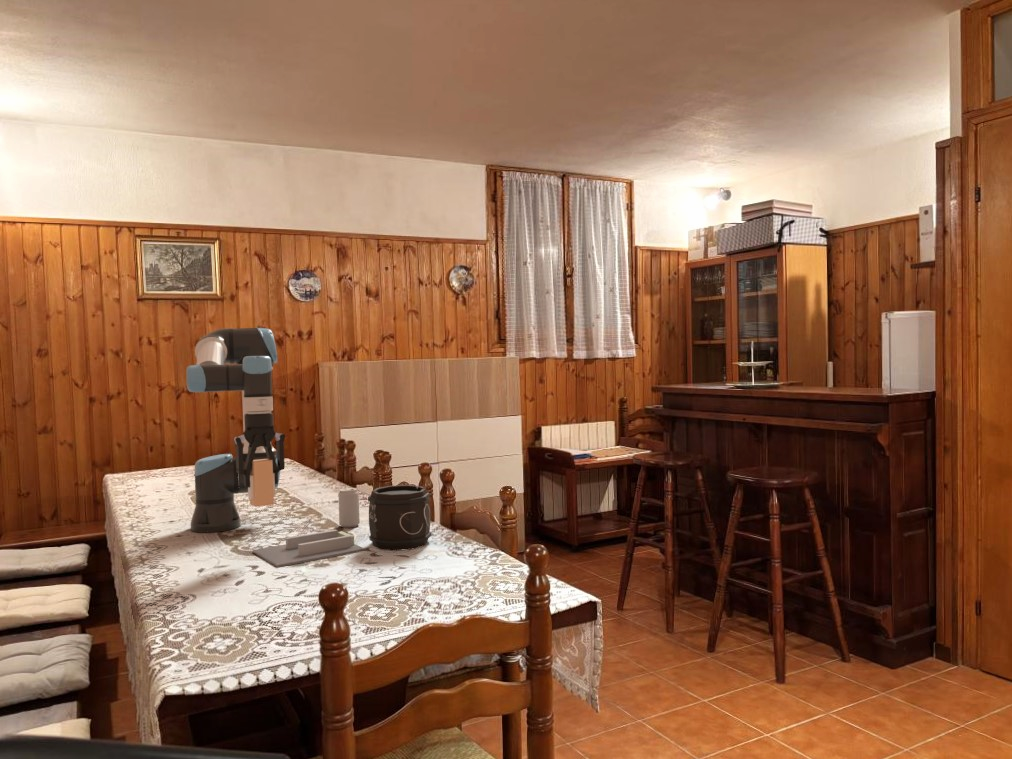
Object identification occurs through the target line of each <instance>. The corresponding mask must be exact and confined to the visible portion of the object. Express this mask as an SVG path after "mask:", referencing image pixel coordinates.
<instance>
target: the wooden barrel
mask: <svg viewBox="0 0 1012 759" xmlns="http://www.w3.org/2000/svg"><path fill="white" fill-rule="evenodd" d="M430 498H431V494H430V493H429V492H428V490H427V488H426V487H425V486H424V487H423V486H419V485H412V484H402V485H401V484H400V485H397V484H396V485H387V486H380V487H376V488H375V489H373V490H372V491H371V494H370V495H369V496H368V498H367V501H368V502H369V504H368V506H369V507H368V527H369V533H370V535H369V537H368V539H369V541H371V543H372V546H373V547H375V548H377V550H378V549H379V550H386V551H393V550H394V551H403V550H402V549H407V550H413V549H412V548H414V549H418V548H421V547H425V545H426V544H427V543H428V541H429V539H430V537H432V532H431V531H430V530H431V506H430Z"/></svg>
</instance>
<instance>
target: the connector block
mask: <svg viewBox="0 0 1012 759" xmlns="http://www.w3.org/2000/svg"><path fill="white" fill-rule="evenodd" d="M250 475H253V489H254V500H250V499H249V505H251V506H253V507H263V506H271V505H273V506H274V505H275V501H274V500H275V497H274V491H273V462H272V460H269V459H259V460H253V462H252V468H251V473H250Z"/></svg>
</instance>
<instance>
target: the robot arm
mask: <svg viewBox="0 0 1012 759" xmlns="http://www.w3.org/2000/svg"><path fill="white" fill-rule="evenodd" d="M194 354H195V355H194V356H195V358H196V363H195V364H194V365H193V364H192V365H188V366H187V367H186V388H187V390H188V392H190V393H202V394H203V393H212V392H213V393H215V392H238V391H239V392H241V395H242V396H241V397H242V398H241V399H242V401H241V402H242V421H243V423H242V424H243V426H242V428H243V429H242V430H243V433H242V434H241V435H239V436H234V437H233V442H234V445H235V457H234V456H233V455H232V453H222V454H216V455H211V456H207V457H202V458H201V459H198V460H197V461H195V464H194V474H193V476H194V486H195V487H194V488H195V489H194V492H195V494H194V495H195V496H194V498H195V499H194V500H195V507H194V509H193V513H192V517H191V520H190V531H191V532H195V533H216V532H217V533H219V532H225V531H229V530H235V529H237V528H238V527H240V526H241V517H240V514H239V512H238V509H237V506H236V504H235V494H236V495H237V494H238V495H239V494H247V495H248V496H247V498H248V500H249V501H250V500H254V489H253V475H250V473H251V468H252V462H253V460H259V459H269V460H272V462H273V491H274V498H276V490H277V488H278V487H279V483H280V477H281V476H280V475H281V471H283V470H285V468H286V467H285V447H284V446H285V445H284V443H285V439H286V435H285V434H284V433H279V432H276V430H275V425H274V413H273V412H272V411H274V403H273V402H274V398H273V396H274V395H273V369H274V364H277V363H278V353H277V345H276V340H275V337H274V333H273V331H272V330H271V329H269V328H265V327H264V328H263V327H251V328H250V327H248V328H246V327H244V328H243V327H242V328H239V327H238V328H227V327H225V328H219V329H215V330H213V331H211V332H209V333H207V334H204V336H202V337H201V338H200V339H199V340H198V341H197V342H196V344H195V347H194ZM274 438H275V441H276V443H275V444H276V447H275V448H274V446H273V445H272V441H273V440H274Z"/></svg>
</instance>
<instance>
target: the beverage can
mask: <svg viewBox="0 0 1012 759" xmlns="http://www.w3.org/2000/svg"><path fill="white" fill-rule="evenodd" d="M337 495H338V519H339V522H338V523H339V526H341V527H342V528H344V529H349V528H351V529H352V528H357V527H358V526H359V525H360V522H361V521H360V496H359V495H360V493H359V491H358V488H356V487H346V488H340V489H339V492H338V494H337Z"/></svg>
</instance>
